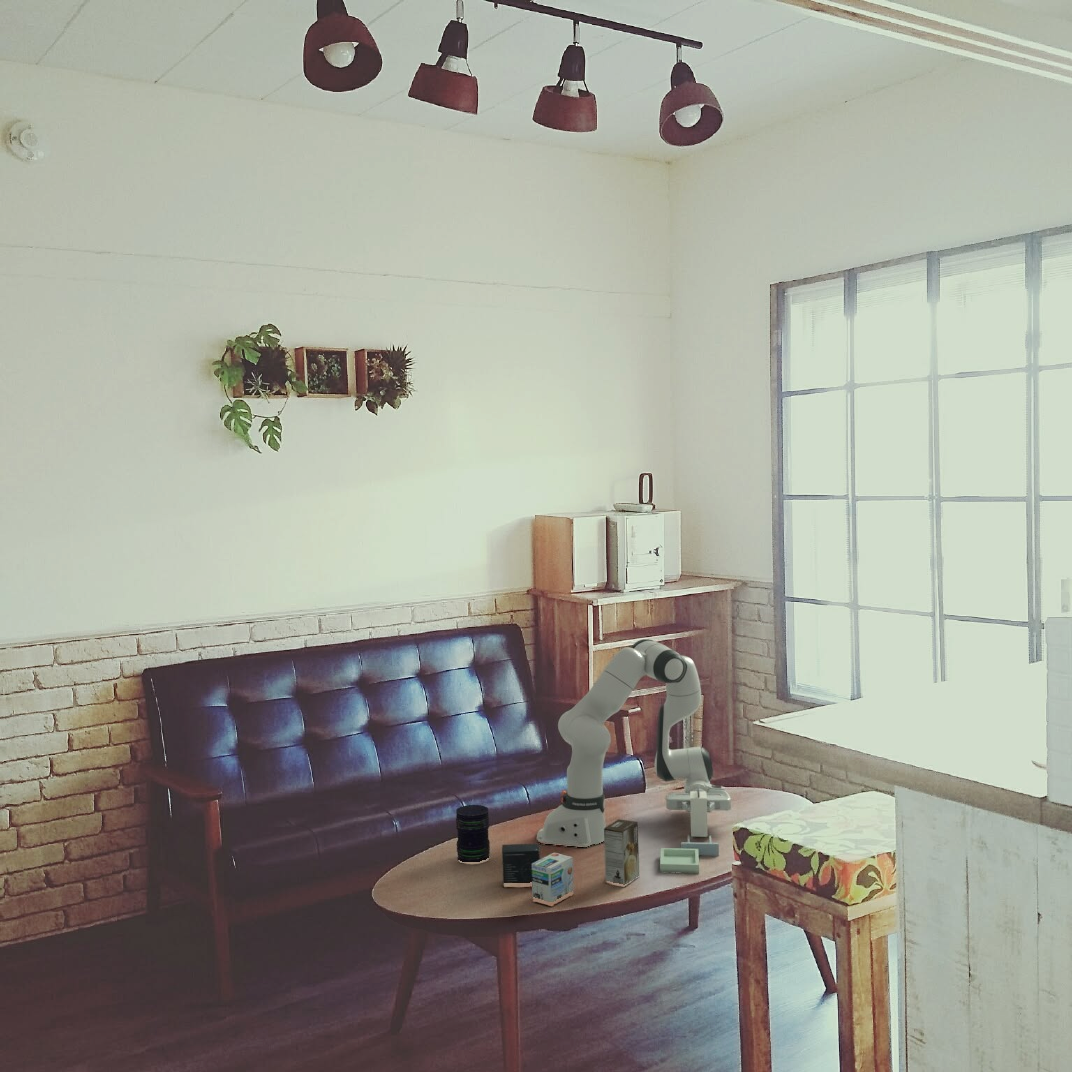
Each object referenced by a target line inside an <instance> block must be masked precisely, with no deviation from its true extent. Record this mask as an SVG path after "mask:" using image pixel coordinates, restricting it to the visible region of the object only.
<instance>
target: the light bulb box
mask: <svg viewBox="0 0 1072 1072" xmlns="http://www.w3.org/2000/svg"><path fill="white" fill-rule="evenodd" d="M531 888H532V890H531V891H532V898H533V897H535V898H538V899H541V900H544V901H547V902H554V901H556V900H557V899H559V898H561V897H563V896H564V895H566V894H568V893H569V892H572V891H573V892H574V857H573V856H569V855H565V854H561V853H558V852H553V853H550V854H548V855H545V856H544V857H541V858H540V860H538V861H536V862H534V863H532V887H531Z"/></svg>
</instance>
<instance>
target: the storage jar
mask: <svg viewBox="0 0 1072 1072" xmlns="http://www.w3.org/2000/svg"><path fill="white" fill-rule="evenodd" d="M455 814H456V815H455V816H456V817H455V823H456V825H455V827H456V830H457V831H456V832H457V841H456V853H457V861H458V860H460V861H462V862H480V861H482V860H486V859H487V858H489V856H490V854H491V853H490V851H491V841H490V839H489V828H490V815H489V808H488V807H487V806H485V805H481V804H469V805H462V806H459V807H458V808H456V810H455Z"/></svg>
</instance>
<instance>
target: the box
mask: <svg viewBox="0 0 1072 1072" xmlns="http://www.w3.org/2000/svg"><path fill="white" fill-rule="evenodd" d="M540 848H541V847H540V843H538V842H537V843H518V844H517V843H516V844H514V843H513V844H502V846H501V856H502V859H501V860H502V884H503V883H530V882H532V863H534V862H536V861H538V860H540V859H541V853H540V852H541V851H540V850H541V849H540Z"/></svg>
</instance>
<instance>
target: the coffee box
mask: <svg viewBox="0 0 1072 1072" xmlns="http://www.w3.org/2000/svg"><path fill="white" fill-rule="evenodd" d="M603 843H604V871H605V873H604V874H605V877H604V879H605V882H606V881H610V882H613V883H619V884H623V885H625V884H627V883H629V882H630V881H632V880H633V879H634V878H636V877H638V876H639V877H640V860H639V859H640V857H639V854H640V853H639V850H640V849H639V848H640V847H639V822H638V821H632V820H628V819H627V820H626V819H621V818H619V819H616V820H615V821H613V822H612V823H610V824H609V825H606V828H604V842H603ZM639 877H638V878H639Z"/></svg>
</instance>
